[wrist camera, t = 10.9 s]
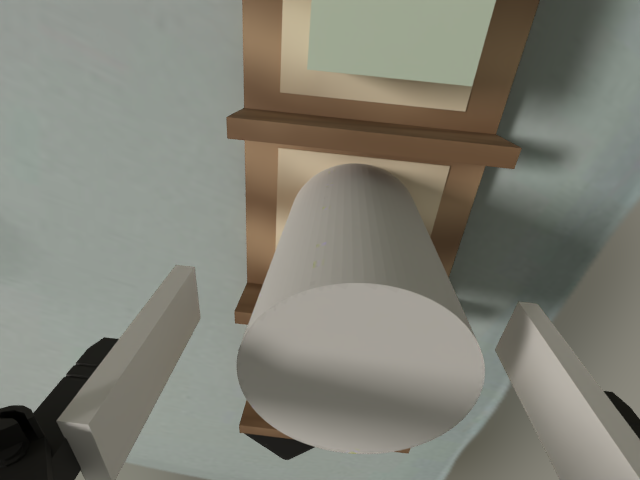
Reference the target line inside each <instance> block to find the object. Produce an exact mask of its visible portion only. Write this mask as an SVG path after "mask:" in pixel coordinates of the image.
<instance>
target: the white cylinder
mask: <svg viewBox="0 0 640 480" xmlns="http://www.w3.org/2000/svg"><path fill="white" fill-rule="evenodd" d="M237 375H238V380H239V384H240V387H241V389H242V391H243V394H244V396H245V397H246V399H247V401H248V402H249V404H250V405H251V406H252V408H253V409H254V410H255V411H256V412H257V413H258V414H259V416H260V417H262V418H263V419H264V420H265V421H266V422H267V423H269V424H270V425H271V426H273V427H274V428H275V429H277V430H278V431H280V432H282V433H283V434H285V435H287V436H289V437H291V438H293V439H295V440H297V441H300V442H302V443H305V444H308V445H311V446H314V447H317V448H321V449H325V450H330V451H335V452H342V453H353V454H377V453H387V452H394V451H399V450H404V449H408V448H412V447H415V446H418V445H421V444H424V443H426V442H428V441H431V440H433V439H435V438H437V437H439V436H441V435H442V434H444V433H446V432H447V431H449V430H450V429H452V428H453V427H454V426H456V425H457V424H458V423H459V422H460V421H462V420H463V419H464V418H465V416H466V415H467V414H468V413H469V412H470V411H471V409H472V408H473V407H474V405H475V404H476V402H477V400H478V398H479V396H480V393H481V391H482V387H483V384H484V377H485V366H484V359H483V355H482V352H481V349H480V346H479V344H478V342H477V340H476V338H475V335H474V333H473V331H472V329H471V326H470V324H469V322H468V320H467V318H466V315H465V313H464V311H463V309H462V307H461V304H460V302H459V300H458V298H457V295H456V293H455V291H454V289H453V287H452V284H451V282H450V280H449V278H448V276H447V273H446V271H445V269H444V267H443V264H442V262H441V260H440V258H439V256H438V253H437V251H436V249H435V247H434V245H433V242H432V240H431V238H430V236H429V233H428V231H427V229H426V227H425V225H424V222H423V220H422V218H421V216H420V214H419V211H418V209H417V207H416V205H415V202H414V200H413V198H412V196H411V194H410V192H409V191H408V189H407V188H406V187H405V186H404V184H403V183H402V182H401V181H400V180H399V179H397V178H396V177H395V176H393V175H392V174H390V173H389V172H387V171H385V170H383V169H381V168H378V167H375V166H372V165H367V164H359V163H349V164H342V165H337V166H333V167H330V168H328V169H326V170H323V171H321V172H320V173H318V174H316V175H315V176H314V177H312V178H311V179H310V180H309V181H308V182H307V183H306V184H305V185H304V186H303V187H302V188H301V190H300V191H299V192H298V194H297V196H296V198H295V200H294V202H293V205H292V208H291V210H290V213H289V216H288V218H287V221H286V224H285V226H284V229H283V232H282V235H281V237H280V240H279V243H278V245H277V248H276V251H275V253H274V256H273V259H272V261H271V264H270V267H269V270H268V272H267V275H266V278H265V280H264V283H263V286H262V288H261V291H260V294H259V296H258V299H257V302H256V305H255V307H254V310H253V313H252V315H251V318H250V321H249V323H248V326H247V329H246V331H245V334H244V337H243V340H242V342H241V345H240V348H239V352H238V356H237Z"/></svg>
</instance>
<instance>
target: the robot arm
mask: <svg viewBox="0 0 640 480" xmlns="http://www.w3.org/2000/svg"><path fill="white" fill-rule="evenodd" d="M199 320H200V309H199V301H198V292H197V283H196V275H195V267H190V266H181V265H175V267H174V268H173V269H172V271H171V272H170V273H169V275H168V276H167V277H166V279H165V280H164V281H163V282H162V284H161V285H160V286H159V288H158V289H157V290H156V292H155V293H154V294H153V295H152V297H151V298H150V299H149V301H148V302H147V303H146V305H145V306H144V307H143V309H142V310H141V311H140V312H139V314H138V315H137V316H136V318H135V319H134V320H133V322H132V323H131V324H130V325H129V327H128V328H127V329H126V331H125V332H124V333H123V335H122V336H121V337H120V339H113V338H103V339H101V340H100V341H98V342H97V343H96V344H94V345H93V346H91V347H90V348H88V349H87V350H86V352H85V353H84V354H83V355H82V356H81V358H80V359H79V360H78V361H77V362H76V365H75V366H73V367H72V368H71V369H70V371H69V372H68V373H67V374H66V377H64V378H63V379H62V380H61V381H60V382H59V384H58V385H57V386H56V387H55V388H54V389H53V391H52V392H51V393H50V394H49V395H48V397H47V398H46V399H45V400H44V401H43V402H42V404H41V405H40V406H39V407H38V408H37V410H36V411H35V412H34V413H33V412H32V410H31V409H29V408H27V407H25V406H8V407H4V408H1V409H0V480H74V479H75V478H76V476H77V475H78V473H79V472H80V470H81V472H82V474H83V476H84V478H85V480H116V478H117V476H118V474H119V472H120V470H121V468H122V466H123V464H124V462H125V461H126V459H127V457H128V455H129V453H130V451H131V449H132V447H133V445H134V443H135V442H136V440H137V438H138V436H139V434H140V432H141V430H142V428H143V426H144V424H145V423H146V421H147V419H148V417H149V415H150V413H151V411H152V409H153V407H154V405H155V404H156V402H157V400H158V398H159V396H160V394H161V392H162V390H163V388H164V386H165V385H166V383H167V381H168V379H169V377H170V375H171V373H172V371H173V369H174V367H175V366H176V364H177V362H178V360H179V358H180V356H181V354H182V352H183V350H184V348H185V347H186V345H187V343H188V341H189V339H190V337H191V335H192V333H193V331H194V329H195V328H196V326H197V324H198V322H199ZM495 351H496V353H497V355H498V357H499V359H500V361H501V363H502V365H503V367H504V369H505V371H506V373H507V375H508V377H509V379H510V381H511V383H512V385H513V387H514V389H515V391H516V393H517V395H518V397H519V399H520V401H521V403H522V405H523V407H524V409H525V411H526V413H527V415H528V417H529V419H530V421H531V423H532V425H533V427H534V429H535V431H536V433H537V435H538V437H539V439H540V441H541V443H542V445H543V447H544V449H545V451H546V453H547V455H548V457H549V459H550V461H551V463H552V465H553V467H554V469H555V471H556V473H557V475H558V477H559V479H560V480H640V419H639V418H638V417H637V415H636V414H635V413H634V412H633V410H632V409H631V408H630V407H629V406H628V405H627V404H626V403H625V402H623V401H622V400H621V399H620V398H619V397H617V396H616V395H615V394H614V393H613V392H607V391H603V390H602V389H601V387H600V386H599V385H598V383H597V382H596V381H595V379H594V378H593V377H592V375H591V374H590V373H589V371H588V370H587V369H586V367H585V366H584V365H583V363H582V362H581V361H580V359H579V358H578V357H577V356H576V354H575V353H574V352H573V350H572V349H571V348H570V346H569V345H568V344H567V343H566V341H565V340H564V338H563V337H562V336H561V334H560V333H559V332H558V331H557V329H556V328H555V327H554V325H553V324H552V322H551V321H550V320H549V318H548V317H547V316H546V314H545V313H544V312H543V310H542V309H541V308H540V306H539V305H538V304H536V303H527V302H518V303H517V305H516V308H515V310H514V312H513V314H512V316H511V318H510V320H509V322H508V324H507V326H506V328H505V330H504V332H503V334H502V336H501V338H500V341H499V343H498V345H497V347H496V349H495Z"/></svg>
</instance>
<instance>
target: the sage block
mask: <svg viewBox="0 0 640 480" xmlns="http://www.w3.org/2000/svg"><path fill="white" fill-rule="evenodd" d="M495 2H496V0H312V1H311V17H310V32H309V48H308V64H307V70H316V71H326V72H336V73H345V74H355V75H365V76H375V77H385V78H394V79H404V80H414V81H424V82H433V83H443V84H453V85H463V86H472V85H473V81H474V78H475V74H476V71H477V67H478V63H479V60H480V56H481V53H482V49H483V45H484V42H485V38H486V35H487V31H488V27H489V24H490V20H491V17H492V13H493V9H494V6H495Z"/></svg>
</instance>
